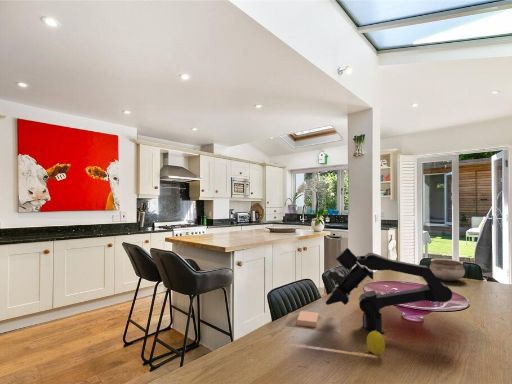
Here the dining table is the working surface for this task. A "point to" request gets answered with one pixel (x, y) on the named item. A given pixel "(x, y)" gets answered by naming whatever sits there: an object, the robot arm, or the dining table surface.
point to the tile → (307, 319)
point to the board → (322, 323)
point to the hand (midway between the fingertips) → (326, 303)
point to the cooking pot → (447, 269)
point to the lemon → (375, 343)
